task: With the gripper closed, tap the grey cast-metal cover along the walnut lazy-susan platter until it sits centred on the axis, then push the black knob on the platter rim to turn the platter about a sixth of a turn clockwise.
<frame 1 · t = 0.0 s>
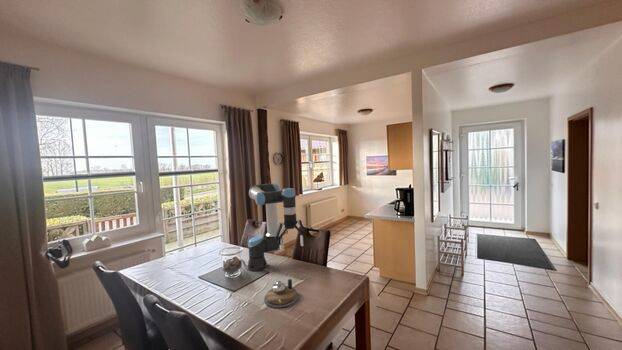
hand: (291, 247, 153), 28 cm above the table, fingers open, 13 cm apart
turntable base: (281, 298, 148), on the table
platter: (281, 290, 147), point 5 cm above the table, hinge at 0.0°, touching cover
cover: (279, 290, 152), point 3 cm above the table, touching platter
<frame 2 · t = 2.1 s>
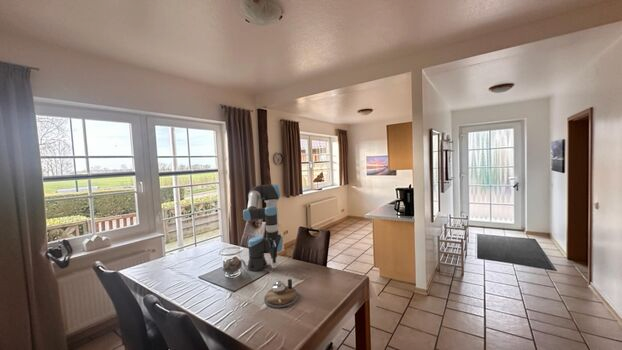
hand: (274, 267, 159), 14 cm above the table, fingers closed
nothing on the table moved.
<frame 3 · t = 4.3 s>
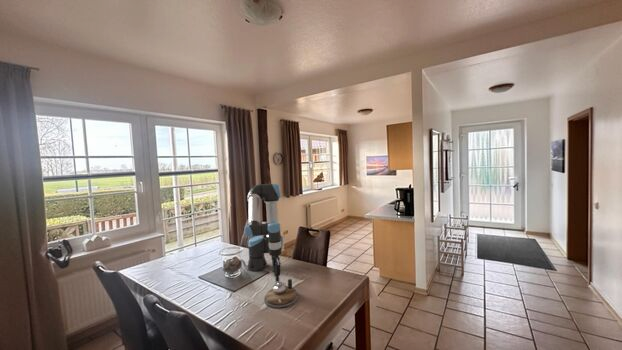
hand: (277, 285, 155), 4 cm above the table, fingers closed
platter: (281, 290, 147), point 5 cm above the table, hinge at -0.1°
cover: (279, 291, 151), point 3 cm above the table, touching gripper
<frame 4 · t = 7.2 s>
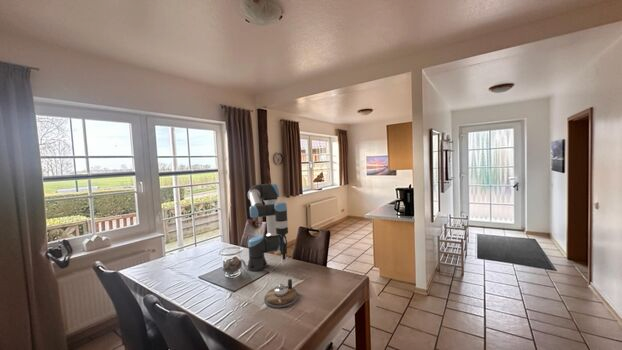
hand: (283, 263, 158), 16 cm above the table, fingers closed
platter: (281, 290, 147), point 5 cm above the table, hinge at -0.2°, touching cover
cover: (281, 293, 148), point 3 cm above the table, touching platter
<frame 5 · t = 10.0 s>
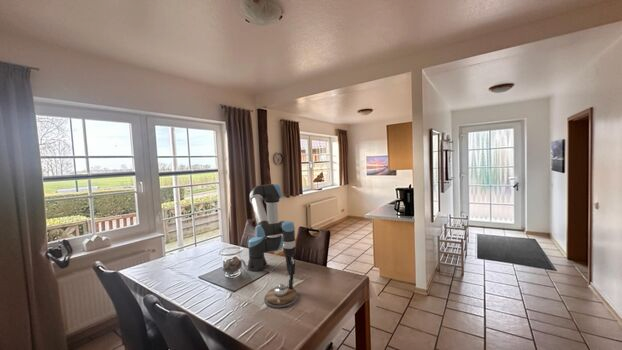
hand: (291, 283, 156), 5 cm above the table, fingers closed
platter: (281, 290, 147), point 5 cm above the table, hinge at -4.9°, touching cover, gripper
everything else where it was.
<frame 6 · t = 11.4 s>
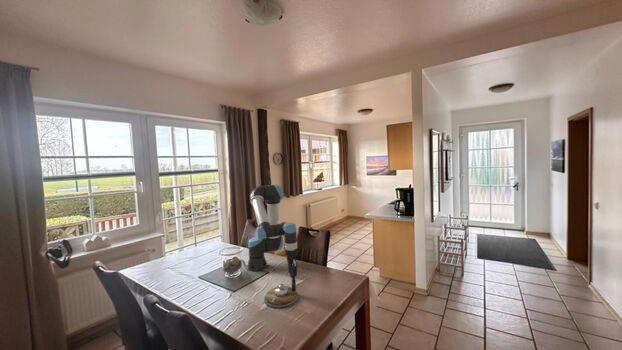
hand: (293, 286, 153), 4 cm above the table, fingers closed
platter: (281, 290, 147), point 5 cm above the table, hinge at -29.6°, touching cover, gripper
everything else where it was.
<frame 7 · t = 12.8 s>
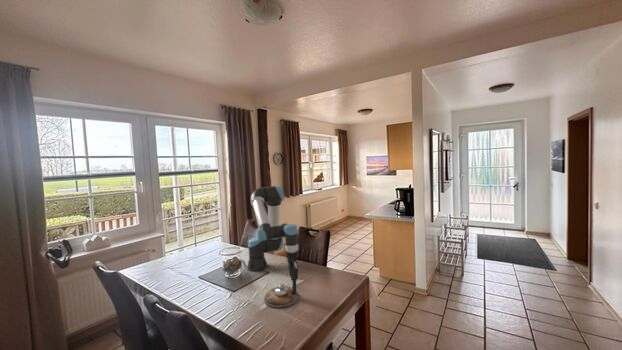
hand: (294, 289, 149), 4 cm above the table, fingers closed
platter: (281, 290, 147), point 5 cm above the table, hinge at -58.8°, touching cover, gripper
everything else where it was.
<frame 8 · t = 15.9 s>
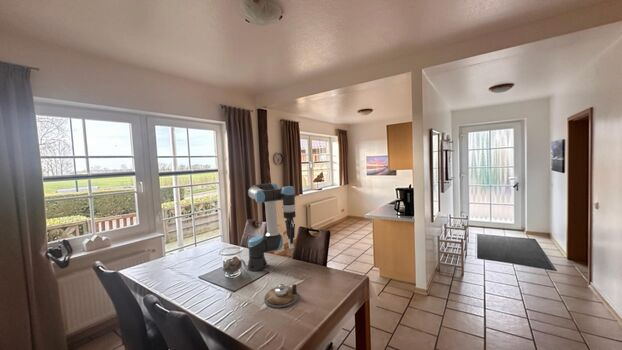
hand: (291, 248, 157), 26 cm above the table, fingers closed
platter: (281, 290, 147), point 5 cm above the table, hinge at -56.0°, touching cover
everything else where it was.
at the end: cover 0.3 cm from the platter (horizontally); platter at -56° (first picture: +0°); cover tilted 0° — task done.
